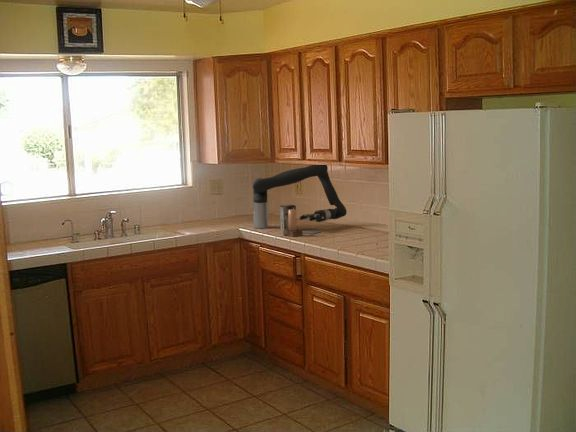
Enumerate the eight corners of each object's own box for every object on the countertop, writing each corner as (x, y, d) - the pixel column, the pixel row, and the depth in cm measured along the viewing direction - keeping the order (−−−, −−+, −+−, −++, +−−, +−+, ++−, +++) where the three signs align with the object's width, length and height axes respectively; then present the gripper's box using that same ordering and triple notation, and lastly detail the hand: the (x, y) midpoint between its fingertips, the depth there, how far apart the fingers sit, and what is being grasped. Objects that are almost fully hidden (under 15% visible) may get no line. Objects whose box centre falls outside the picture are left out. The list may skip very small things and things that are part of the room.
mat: (300, 233, 430) (300, 232, 429) (310, 231, 436) (310, 230, 436) (311, 234, 423) (311, 233, 423) (320, 232, 429) (320, 231, 429)
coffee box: (293, 228, 450) (292, 204, 447) (296, 229, 444) (296, 205, 442) (280, 229, 446) (279, 205, 444) (283, 231, 440) (283, 206, 438)
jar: (287, 235, 423) (286, 210, 420) (293, 234, 426) (292, 209, 424) (293, 236, 419) (292, 210, 417) (298, 235, 423) (297, 209, 420)
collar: (283, 235, 423) (283, 230, 422) (293, 233, 428) (292, 229, 428) (293, 236, 417) (292, 232, 416) (302, 235, 423) (302, 230, 422)
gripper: (314, 209, 445) (296, 212, 434) (330, 210, 435) (313, 213, 424) (314, 220, 446) (297, 223, 435) (330, 222, 436) (313, 225, 425)
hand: (305, 218), depth 429 cm, fingers open, 8 cm apart
